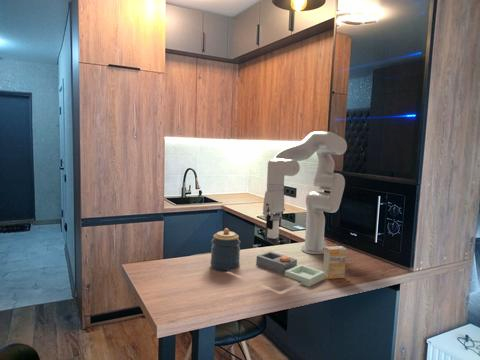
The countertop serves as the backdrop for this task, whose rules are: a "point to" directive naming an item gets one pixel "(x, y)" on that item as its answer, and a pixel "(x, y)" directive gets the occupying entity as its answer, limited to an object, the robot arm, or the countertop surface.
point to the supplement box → (334, 262)
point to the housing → (275, 262)
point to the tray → (305, 274)
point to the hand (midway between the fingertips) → (273, 227)
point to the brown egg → (285, 258)
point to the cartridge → (274, 227)
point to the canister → (225, 250)
